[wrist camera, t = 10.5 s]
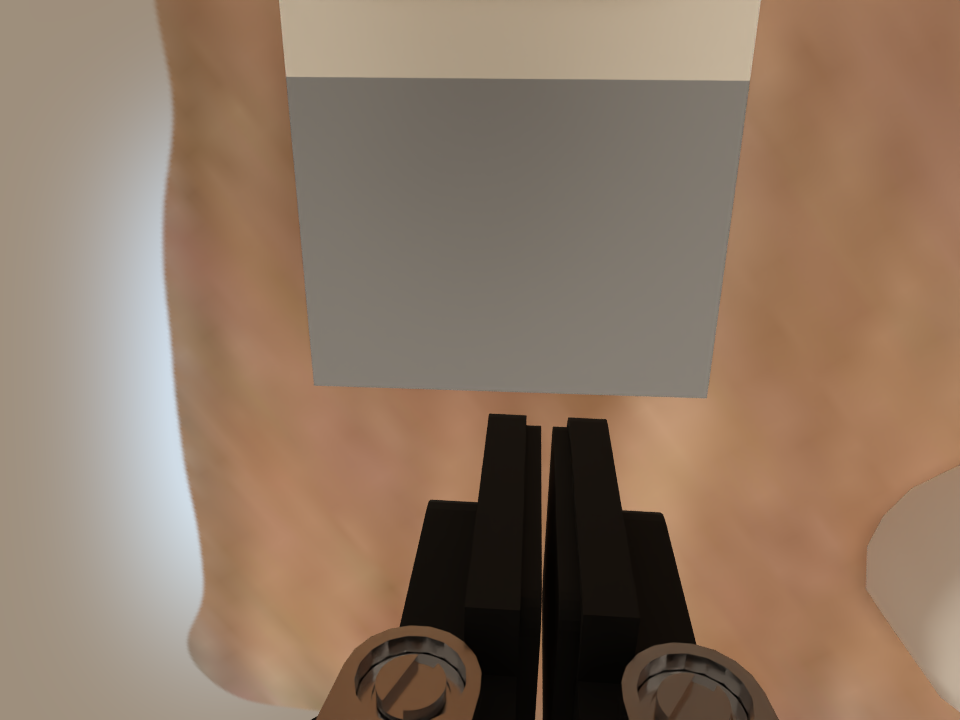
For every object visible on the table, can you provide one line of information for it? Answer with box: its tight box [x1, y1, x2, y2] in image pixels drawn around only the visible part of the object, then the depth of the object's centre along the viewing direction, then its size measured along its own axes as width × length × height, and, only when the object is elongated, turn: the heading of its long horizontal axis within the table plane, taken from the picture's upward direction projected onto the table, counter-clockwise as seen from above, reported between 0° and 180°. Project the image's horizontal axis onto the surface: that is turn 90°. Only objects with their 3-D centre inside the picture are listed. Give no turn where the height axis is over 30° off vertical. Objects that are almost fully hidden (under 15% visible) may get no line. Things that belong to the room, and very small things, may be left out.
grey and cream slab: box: [279, 0, 761, 398], centre depth 27 cm, size 26×16×2 cm, turn 0°
